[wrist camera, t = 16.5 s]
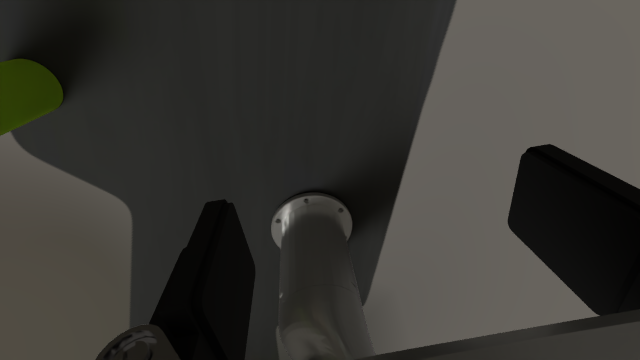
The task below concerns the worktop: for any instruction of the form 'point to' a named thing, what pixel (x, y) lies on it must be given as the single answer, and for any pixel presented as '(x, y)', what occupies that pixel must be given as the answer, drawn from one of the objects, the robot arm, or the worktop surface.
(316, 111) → the worktop surface
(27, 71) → the soap dispenser
